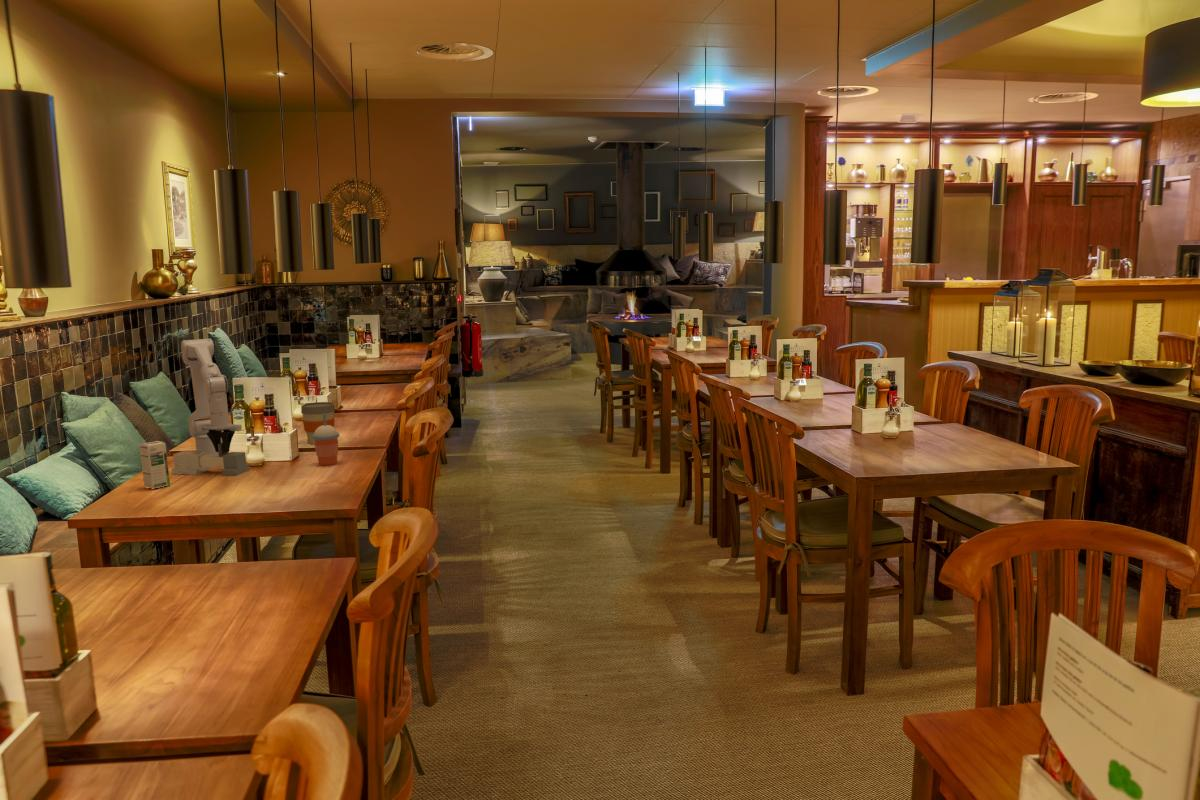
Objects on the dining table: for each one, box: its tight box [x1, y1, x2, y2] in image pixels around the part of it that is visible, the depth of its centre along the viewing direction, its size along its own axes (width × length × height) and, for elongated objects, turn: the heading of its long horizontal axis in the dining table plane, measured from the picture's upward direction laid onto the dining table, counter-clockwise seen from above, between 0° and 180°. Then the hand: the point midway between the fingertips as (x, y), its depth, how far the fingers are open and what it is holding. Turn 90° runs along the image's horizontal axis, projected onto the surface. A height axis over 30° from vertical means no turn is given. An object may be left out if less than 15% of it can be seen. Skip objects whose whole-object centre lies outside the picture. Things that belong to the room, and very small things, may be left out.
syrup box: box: [139, 440, 171, 489], centre depth 280 cm, size 6×6×14 cm
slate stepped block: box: [221, 451, 250, 477], centre depth 297 cm, size 5×8×7 cm, turn 170°
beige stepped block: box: [171, 450, 212, 476], centre depth 300 cm, size 9×8×7 cm
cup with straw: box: [312, 413, 340, 467], centre depth 307 cm, size 9×9×18 cm
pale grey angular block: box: [199, 443, 228, 468], centre depth 298 cm, size 14×4×8 cm, turn 80°
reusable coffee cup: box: [300, 401, 336, 445], centre depth 344 cm, size 13×13×15 cm
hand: (222, 451), depth 298 cm, fingers open, 2 cm apart
